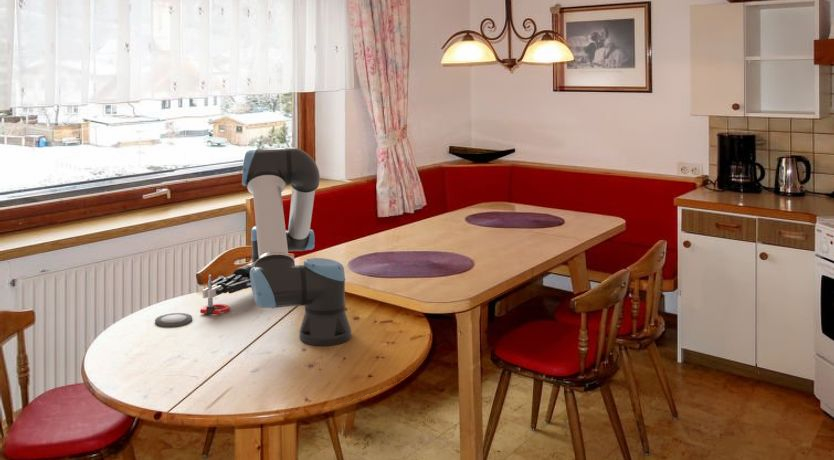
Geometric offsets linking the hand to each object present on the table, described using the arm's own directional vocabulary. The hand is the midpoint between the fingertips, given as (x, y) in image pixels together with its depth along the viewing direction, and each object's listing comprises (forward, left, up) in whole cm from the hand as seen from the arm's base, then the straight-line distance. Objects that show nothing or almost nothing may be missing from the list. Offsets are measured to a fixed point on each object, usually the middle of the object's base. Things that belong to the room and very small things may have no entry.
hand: (206, 294), depth 234 cm
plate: (-5, +9, -7) cm, 13 cm away
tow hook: (+5, -1, -7) cm, 9 cm away
